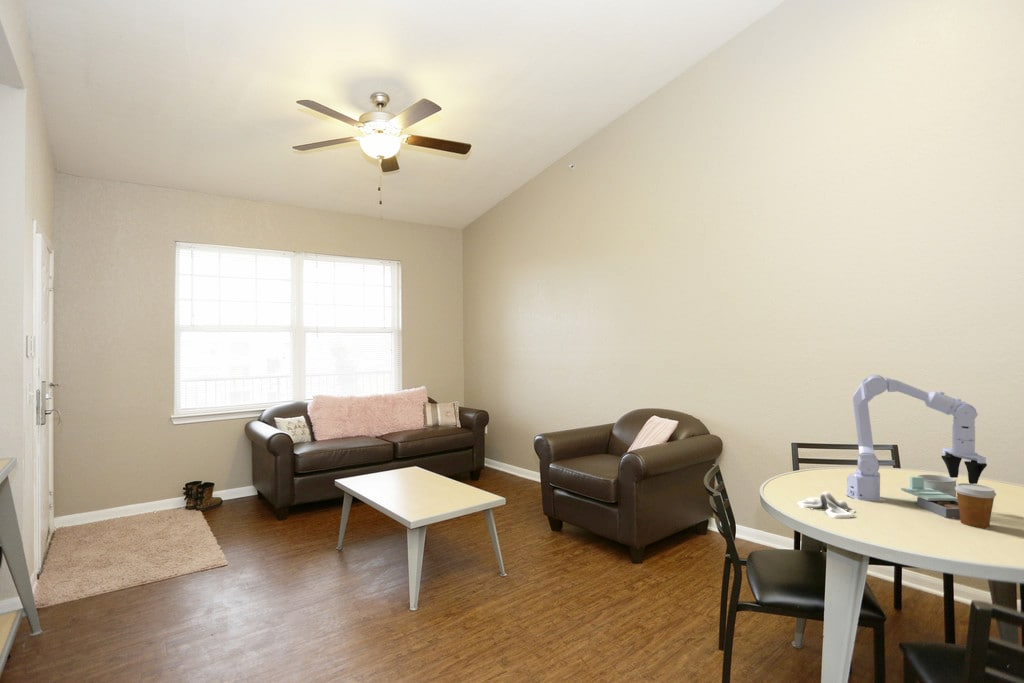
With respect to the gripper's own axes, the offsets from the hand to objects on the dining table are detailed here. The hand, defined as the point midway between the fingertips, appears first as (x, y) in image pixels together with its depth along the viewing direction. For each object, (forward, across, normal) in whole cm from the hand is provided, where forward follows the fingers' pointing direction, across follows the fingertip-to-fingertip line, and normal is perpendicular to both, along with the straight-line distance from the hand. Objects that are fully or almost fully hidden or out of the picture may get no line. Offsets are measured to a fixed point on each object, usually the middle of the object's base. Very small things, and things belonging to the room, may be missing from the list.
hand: (963, 480), depth 174 cm
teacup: (+11, +15, -4) cm, 19 cm away
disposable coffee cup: (+11, -14, +8) cm, 19 cm away
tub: (+10, -2, +7) cm, 13 cm away
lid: (+7, +5, +7) cm, 11 cm away
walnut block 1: (+10, +1, +6) cm, 12 cm away
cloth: (+11, +3, +42) cm, 43 cm away
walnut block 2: (+10, -5, +7) cm, 13 cm away
